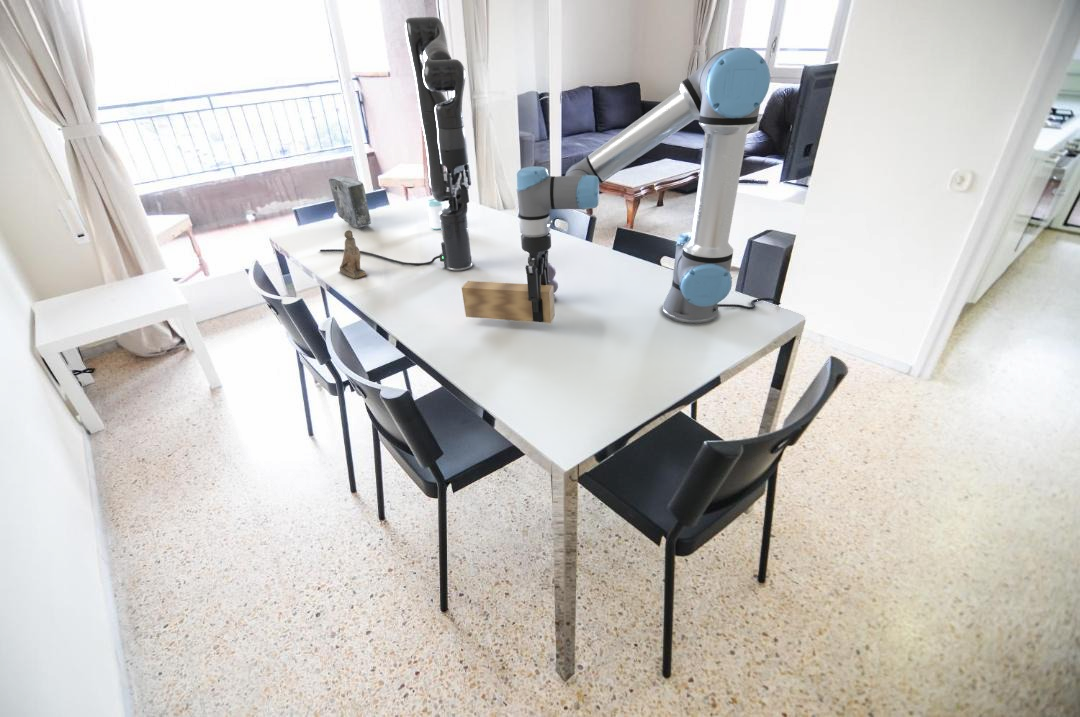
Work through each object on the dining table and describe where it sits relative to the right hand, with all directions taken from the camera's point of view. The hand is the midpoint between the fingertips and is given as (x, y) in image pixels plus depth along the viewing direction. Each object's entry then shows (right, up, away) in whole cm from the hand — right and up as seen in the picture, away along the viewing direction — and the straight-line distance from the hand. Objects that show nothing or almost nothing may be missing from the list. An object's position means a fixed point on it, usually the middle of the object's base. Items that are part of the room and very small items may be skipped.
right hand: (540, 316), depth 136 cm
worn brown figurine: (-68, +19, +42) cm, 82 cm away
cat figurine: (+1, +7, +18) cm, 19 cm away
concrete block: (-86, +50, +95) cm, 137 cm away
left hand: (-23, +32, +6) cm, 40 cm away
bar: (-9, 0, +3) cm, 9 cm away
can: (-46, +47, +87) cm, 109 cm away
